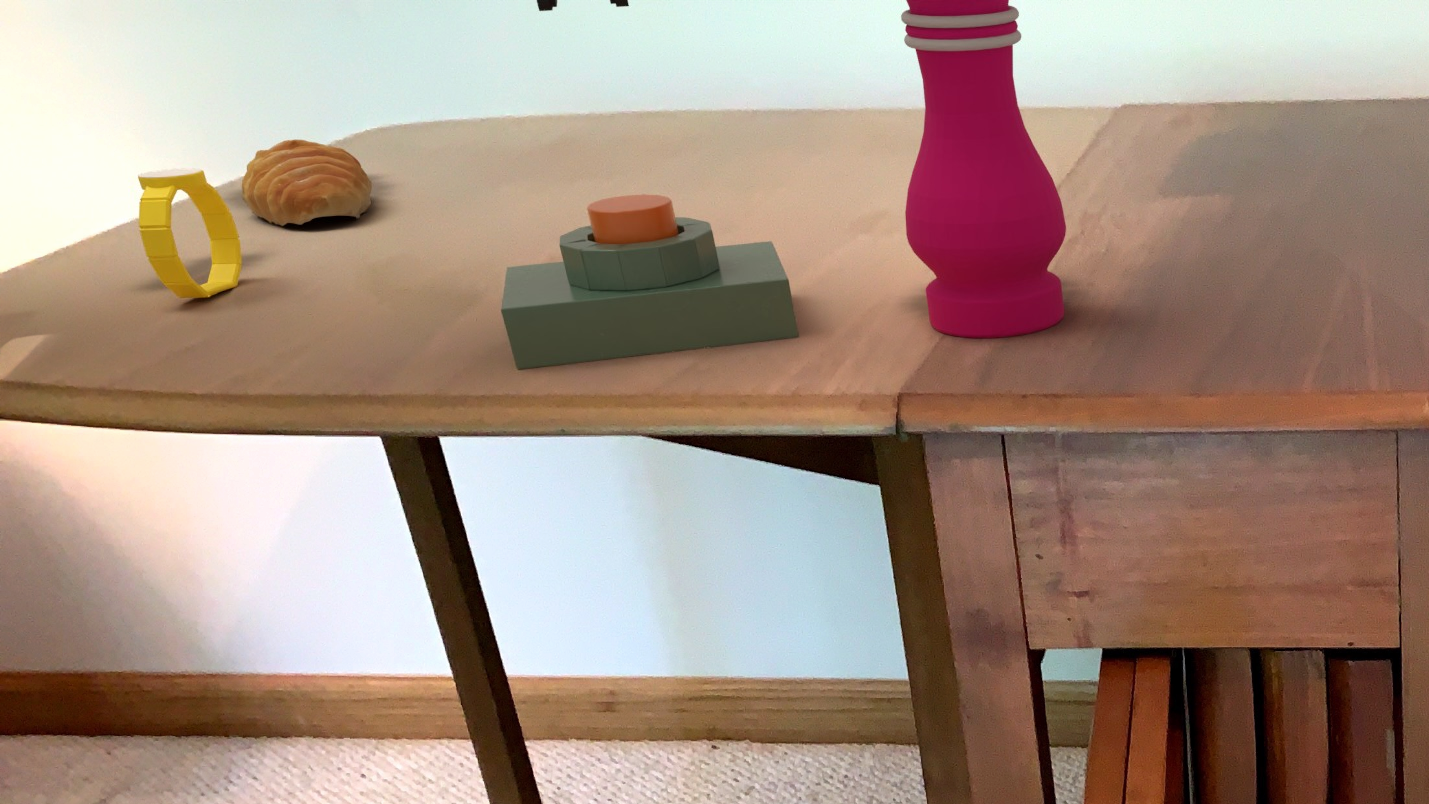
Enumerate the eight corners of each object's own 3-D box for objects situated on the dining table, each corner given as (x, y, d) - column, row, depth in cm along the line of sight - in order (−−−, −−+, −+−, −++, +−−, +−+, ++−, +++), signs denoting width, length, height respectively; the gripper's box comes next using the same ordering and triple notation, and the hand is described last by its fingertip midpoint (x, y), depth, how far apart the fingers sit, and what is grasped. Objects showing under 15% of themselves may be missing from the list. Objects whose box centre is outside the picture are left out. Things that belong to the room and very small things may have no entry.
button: (596, 255, 76) (586, 214, 75) (595, 237, 79) (586, 198, 78) (681, 246, 77) (673, 207, 76) (677, 230, 80) (669, 191, 79)
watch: (208, 308, 84) (164, 184, 81) (150, 310, 84) (104, 185, 81) (268, 278, 89) (228, 159, 86) (213, 279, 89) (171, 161, 86)
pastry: (395, 220, 101) (375, 153, 99) (267, 238, 97) (243, 169, 95) (364, 194, 107) (344, 130, 105) (243, 211, 104) (220, 145, 102)
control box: (516, 370, 75) (488, 266, 72) (521, 324, 81) (495, 227, 79) (799, 337, 78) (780, 238, 76) (782, 295, 85) (765, 203, 83)
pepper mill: (913, 308, 83) (843, -162, 72) (1061, 294, 84) (1014, -166, 74) (927, 349, 77) (854, -157, 66) (1087, 332, 78) (1039, -161, 68)
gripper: (199, -559, 58) (367, 27, 67) (694, -539, 63) (787, 4, 72) (234, -527, 64) (384, 7, 73) (684, -511, 69) (770, -13, 78)
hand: (583, 1), depth 73 cm, fingers closed
